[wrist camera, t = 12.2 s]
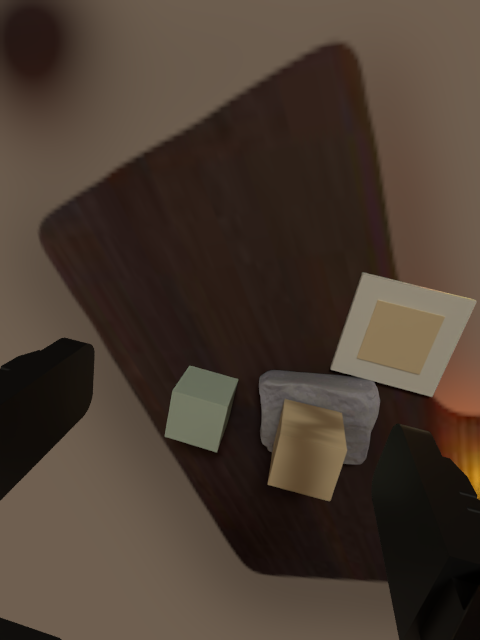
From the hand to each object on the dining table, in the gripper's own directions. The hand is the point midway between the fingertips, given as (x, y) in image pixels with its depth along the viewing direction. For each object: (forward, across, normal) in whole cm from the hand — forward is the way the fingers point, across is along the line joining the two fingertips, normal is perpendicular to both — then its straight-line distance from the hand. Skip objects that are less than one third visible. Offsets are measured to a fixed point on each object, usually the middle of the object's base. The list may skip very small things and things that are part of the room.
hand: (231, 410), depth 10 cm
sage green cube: (+27, +5, +17) cm, 32 cm away
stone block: (+28, -7, +16) cm, 33 cm away
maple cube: (+23, -6, +16) cm, 29 cm away
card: (+27, -12, +6) cm, 30 cm away
